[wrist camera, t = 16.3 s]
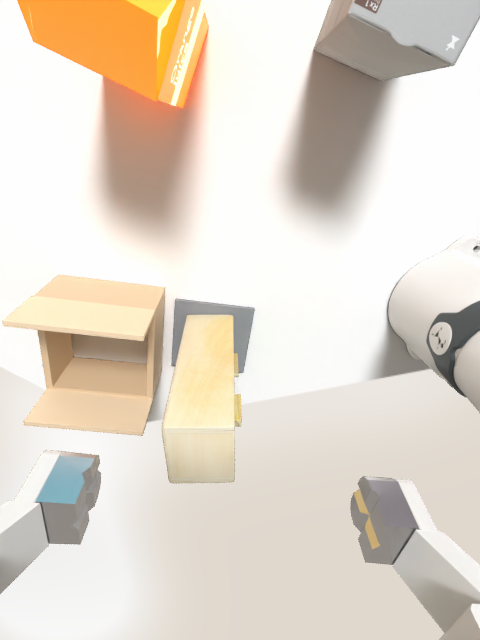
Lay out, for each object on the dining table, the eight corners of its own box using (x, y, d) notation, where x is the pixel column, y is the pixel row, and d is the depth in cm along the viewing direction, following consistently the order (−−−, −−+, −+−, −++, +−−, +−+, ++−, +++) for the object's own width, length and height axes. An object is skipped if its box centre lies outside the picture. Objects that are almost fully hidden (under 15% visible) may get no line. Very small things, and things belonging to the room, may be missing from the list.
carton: (165, 286, 48) (143, 336, 37) (161, 371, 55) (142, 435, 44) (58, 273, 47) (2, 320, 36) (68, 361, 54) (24, 425, 42)
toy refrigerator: (238, 360, 54) (241, 484, 35) (190, 360, 53) (166, 484, 35) (239, 314, 50) (242, 425, 31) (186, 313, 50) (158, 425, 31)
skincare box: (415, 9, 34) (537, -68, 21) (376, 91, 38) (459, 72, 24) (337, -33, 33) (413, -146, 19) (304, 57, 36) (348, 14, 22)
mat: (254, 307, 50) (254, 309, 49) (243, 370, 55) (243, 372, 55) (175, 298, 49) (175, 300, 49) (171, 363, 54) (171, 365, 54)
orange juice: (121, -24, 33) (-7, -191, 15) (210, 25, 35) (185, -75, 17) (101, 70, 36) (-22, 20, 19) (183, 110, 38) (140, 98, 21)
